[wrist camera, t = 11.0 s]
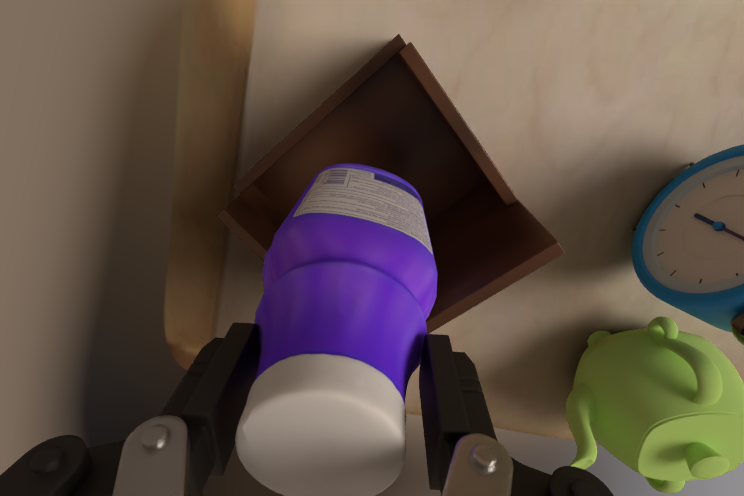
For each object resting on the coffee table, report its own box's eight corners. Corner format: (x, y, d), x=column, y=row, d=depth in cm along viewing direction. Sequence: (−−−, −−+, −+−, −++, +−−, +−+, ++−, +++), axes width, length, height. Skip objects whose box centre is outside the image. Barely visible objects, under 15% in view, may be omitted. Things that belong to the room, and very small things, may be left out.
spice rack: (254, 168, 34) (156, 248, 19) (396, 38, 29) (407, 15, 14) (349, 268, 38) (327, 394, 24) (487, 169, 33) (565, 252, 19)
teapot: (586, 428, 47) (650, 545, 36) (519, 365, 43) (567, 476, 32) (718, 360, 42) (842, 473, 30) (656, 281, 37) (773, 378, 26)
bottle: (300, 229, 25) (163, 500, 10) (316, 146, 23) (168, 331, 7) (404, 255, 26) (433, 550, 10) (431, 177, 23) (522, 410, 8)
